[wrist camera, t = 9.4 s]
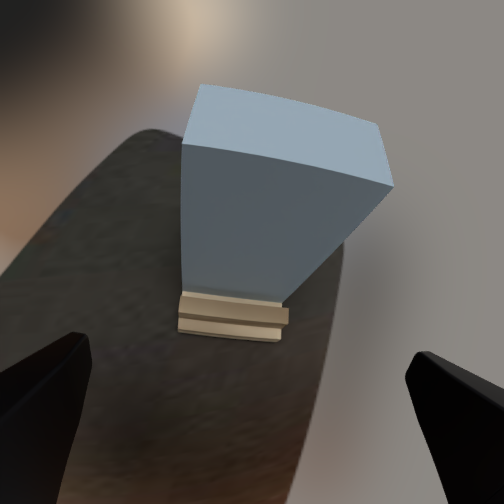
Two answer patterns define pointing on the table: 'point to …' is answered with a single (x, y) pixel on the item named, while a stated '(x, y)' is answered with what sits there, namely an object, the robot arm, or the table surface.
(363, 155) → the book
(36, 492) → the robot arm
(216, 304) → the book stand
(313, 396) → the table surface
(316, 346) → the table surface
